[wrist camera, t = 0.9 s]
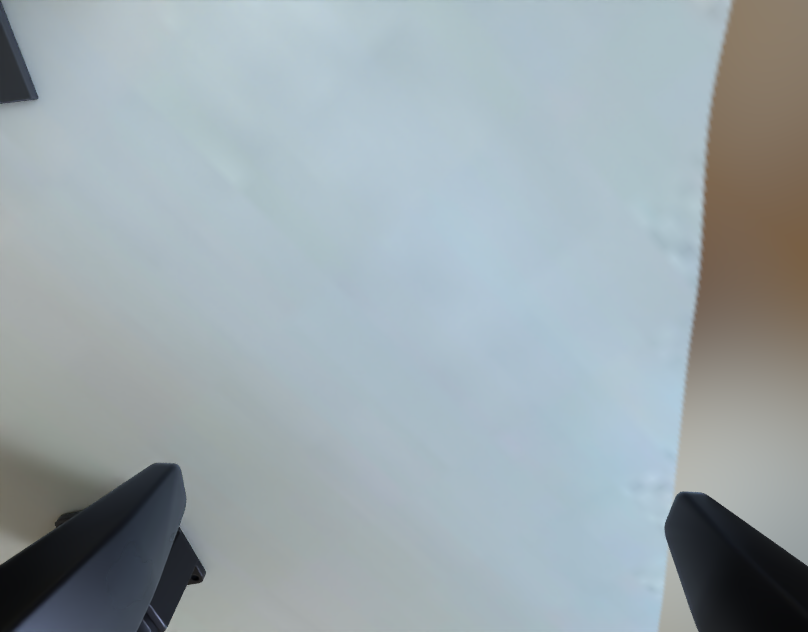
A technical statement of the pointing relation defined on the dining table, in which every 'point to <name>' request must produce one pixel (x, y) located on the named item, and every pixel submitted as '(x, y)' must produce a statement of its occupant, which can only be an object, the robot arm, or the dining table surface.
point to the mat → (12, 67)
